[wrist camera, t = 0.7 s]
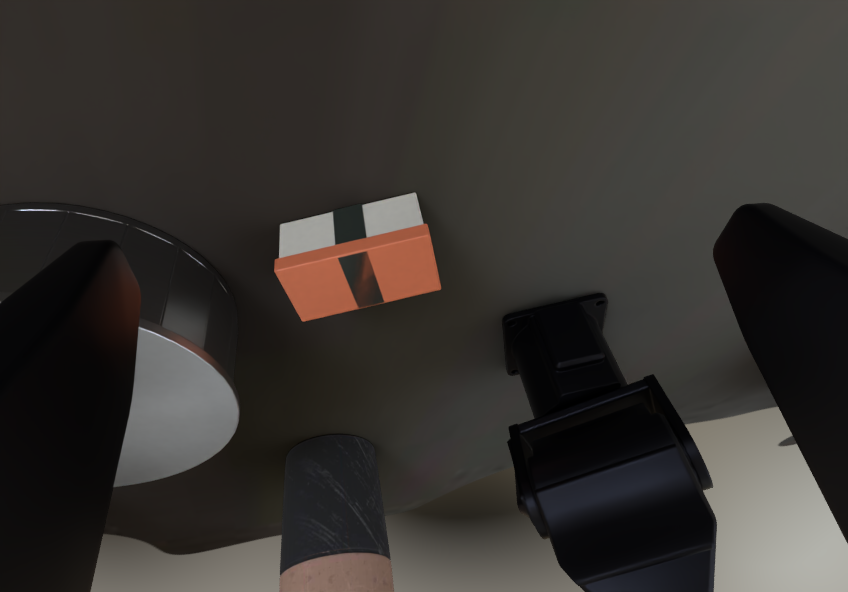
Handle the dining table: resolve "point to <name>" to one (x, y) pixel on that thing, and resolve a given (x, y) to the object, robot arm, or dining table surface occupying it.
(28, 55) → the dining table surface
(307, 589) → the travel mug
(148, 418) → the pan lid
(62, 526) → the robot arm
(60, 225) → the pan
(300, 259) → the sushi
